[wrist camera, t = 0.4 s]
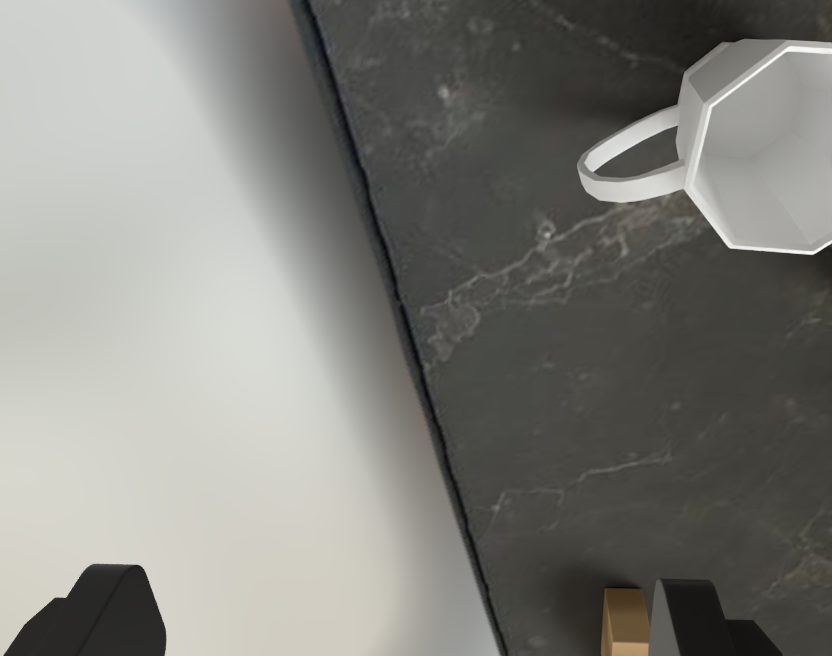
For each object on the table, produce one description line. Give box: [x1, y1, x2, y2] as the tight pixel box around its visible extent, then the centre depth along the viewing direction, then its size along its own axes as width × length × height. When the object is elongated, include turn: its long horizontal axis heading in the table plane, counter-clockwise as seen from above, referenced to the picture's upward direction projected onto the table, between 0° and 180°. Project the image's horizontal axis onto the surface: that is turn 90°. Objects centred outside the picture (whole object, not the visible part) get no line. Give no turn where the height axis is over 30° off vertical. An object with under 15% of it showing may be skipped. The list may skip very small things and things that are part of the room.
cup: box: [577, 39, 832, 255], centre depth 26 cm, size 7×10×8 cm
